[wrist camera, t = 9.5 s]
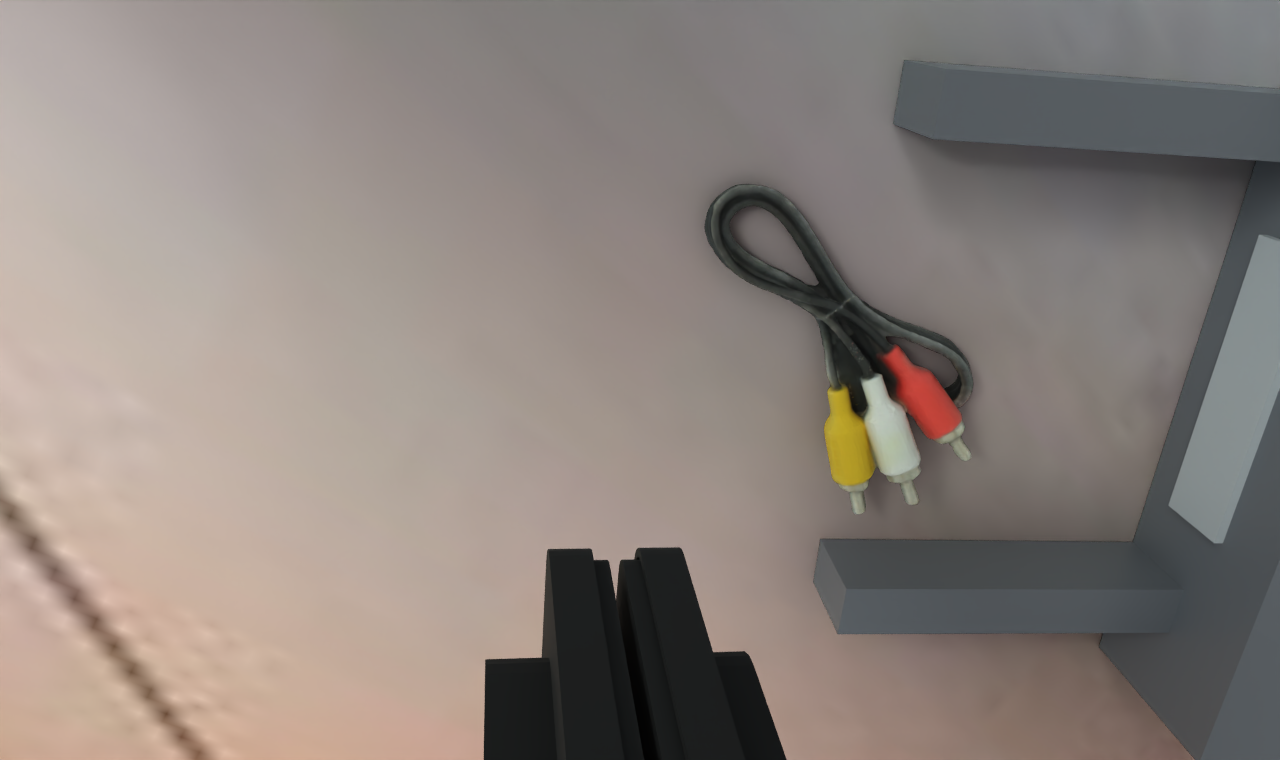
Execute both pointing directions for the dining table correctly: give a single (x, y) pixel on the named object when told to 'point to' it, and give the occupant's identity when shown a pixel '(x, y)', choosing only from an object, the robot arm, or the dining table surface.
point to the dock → (1191, 457)
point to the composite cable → (854, 357)
